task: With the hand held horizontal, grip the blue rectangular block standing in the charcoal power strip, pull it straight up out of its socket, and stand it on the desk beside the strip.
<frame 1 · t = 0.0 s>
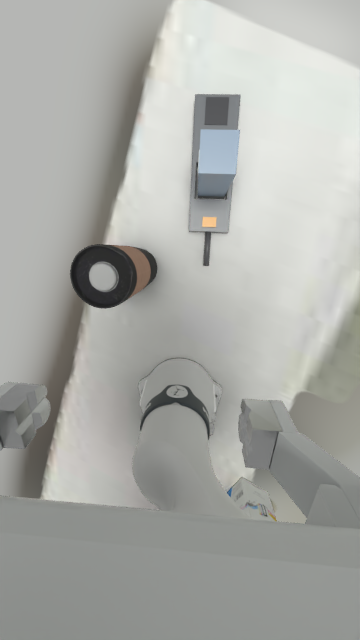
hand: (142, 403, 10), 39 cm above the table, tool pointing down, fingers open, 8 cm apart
ink box: (245, 493, 61), on the table
blue rectangular block: (211, 184, 42), resting in power strip
travel mug: (139, 267, 47), on the table
power strip: (212, 171, 41), on the table
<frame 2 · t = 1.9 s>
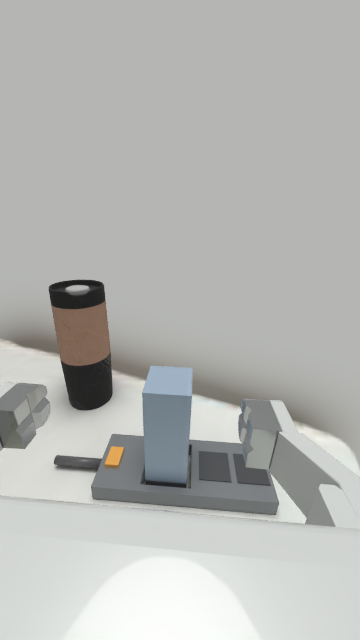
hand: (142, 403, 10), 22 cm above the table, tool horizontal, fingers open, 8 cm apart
blue rectangular block: (167, 474, 29), resting in power strip
travel mug: (91, 396, 42), on the table
power strip: (184, 475, 29), on the table
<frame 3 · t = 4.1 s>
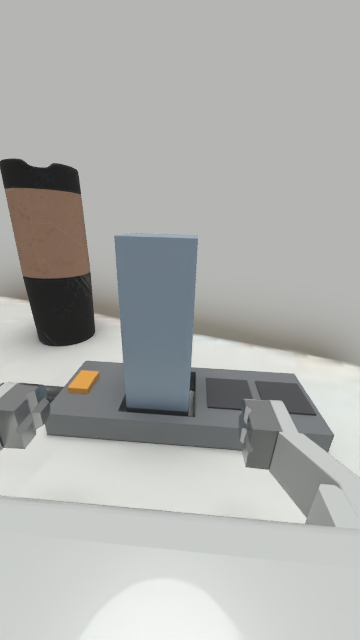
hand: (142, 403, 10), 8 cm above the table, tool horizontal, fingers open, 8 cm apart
blue rectangular block: (161, 408, 20), resting in power strip
travel mug: (68, 335, 33), on the table
power strip: (184, 409, 20), on the table
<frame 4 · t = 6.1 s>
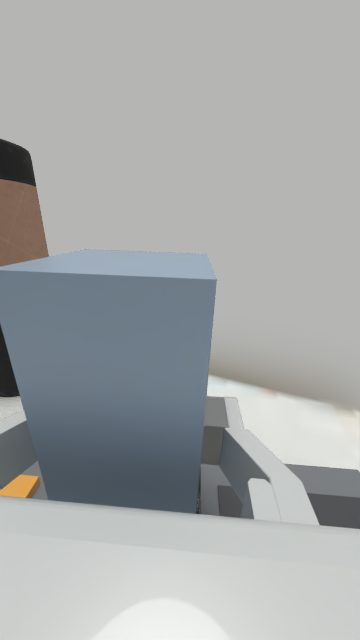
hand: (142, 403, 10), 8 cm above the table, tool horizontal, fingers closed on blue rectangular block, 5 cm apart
blue rectangular block: (143, 543, 12), resting in power strip, touching gripper
travel mug: (27, 376, 25), on the table
power strip: (182, 547, 12), on the table
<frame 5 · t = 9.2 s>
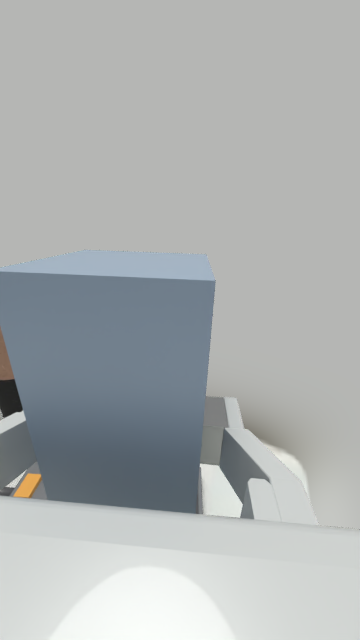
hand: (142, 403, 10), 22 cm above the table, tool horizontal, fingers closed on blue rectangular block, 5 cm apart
blue rectangular block: (142, 543, 12), point 14 cm above the table, touching gripper
travel mug: (31, 411, 38), on the table
power strip: (109, 505, 26), on the table
when the fingers open (9 cm above the table, at t = 12.1 s): blue rectangular block drops 1 cm, on the table.
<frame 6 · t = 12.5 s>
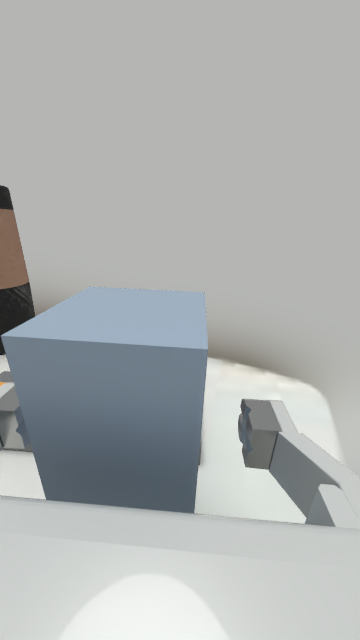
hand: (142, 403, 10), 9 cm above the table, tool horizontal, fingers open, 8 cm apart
blue rectangular block: (143, 559, 12), on the table
travel mug: (10, 343, 34), on the table
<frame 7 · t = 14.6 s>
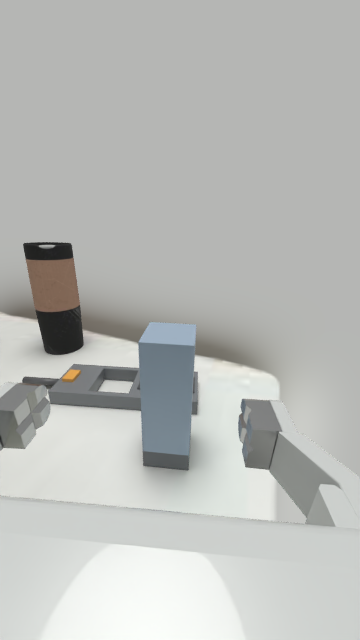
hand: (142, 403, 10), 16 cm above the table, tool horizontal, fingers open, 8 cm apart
blue rectangular block: (168, 448, 26), on the table
travel mug: (64, 347, 48), on the table
power strip: (129, 392, 35), on the table
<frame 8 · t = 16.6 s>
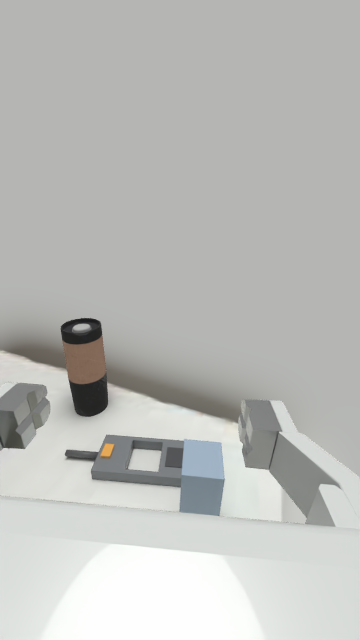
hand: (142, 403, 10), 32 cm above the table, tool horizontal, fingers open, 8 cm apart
blue rectangular block: (195, 529, 33), on the table
travel mug: (92, 405, 54), on the table
power strip: (156, 464, 41), on the table
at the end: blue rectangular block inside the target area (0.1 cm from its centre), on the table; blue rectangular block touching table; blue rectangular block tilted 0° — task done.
